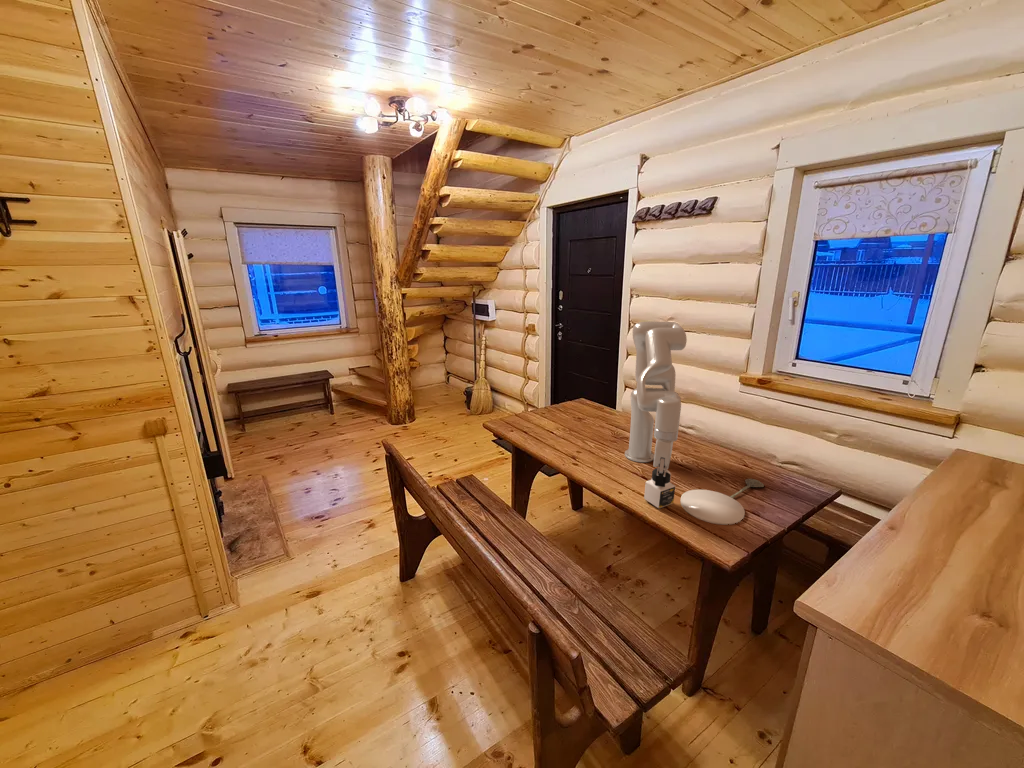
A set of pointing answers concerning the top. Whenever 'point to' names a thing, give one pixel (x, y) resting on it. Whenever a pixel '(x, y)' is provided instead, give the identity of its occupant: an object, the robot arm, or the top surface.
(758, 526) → the top surface
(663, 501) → the medicine bottle
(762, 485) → the grey spatula
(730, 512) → the dish
